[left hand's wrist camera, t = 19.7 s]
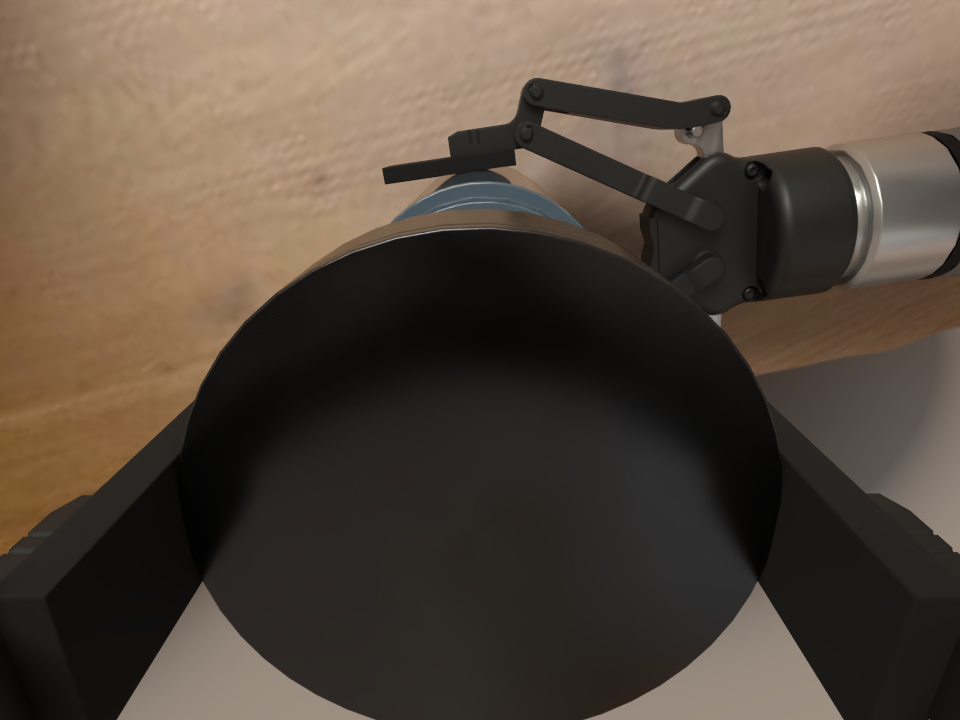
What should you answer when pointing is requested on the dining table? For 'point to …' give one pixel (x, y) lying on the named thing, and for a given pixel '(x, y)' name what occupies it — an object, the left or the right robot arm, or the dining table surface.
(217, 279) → the dining table surface
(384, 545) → the lid
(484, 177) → the jar
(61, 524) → the left robot arm
